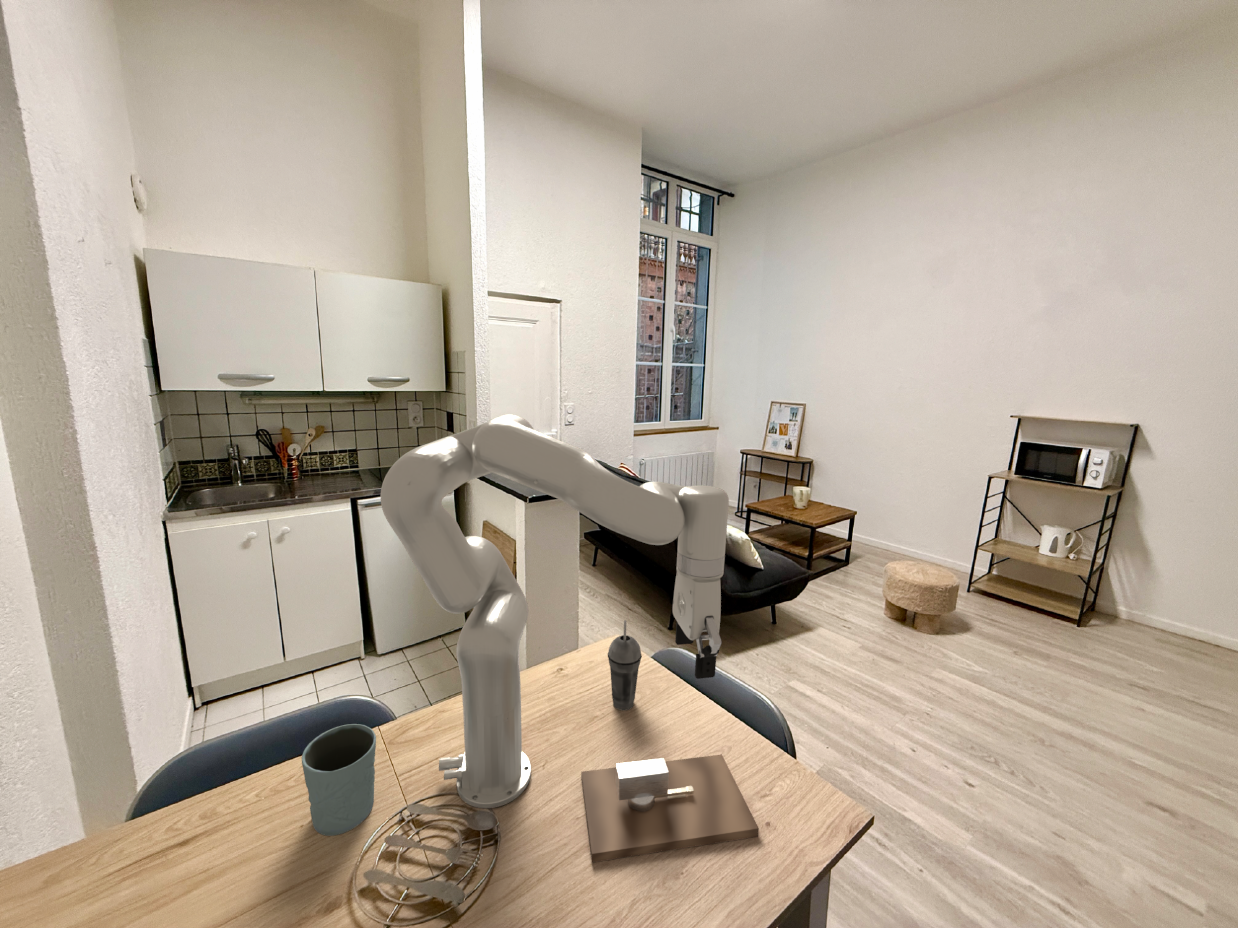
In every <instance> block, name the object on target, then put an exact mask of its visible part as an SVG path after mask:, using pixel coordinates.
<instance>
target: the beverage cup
mask: <svg viewBox="0 0 1238 928" xmlns="http://www.w3.org/2000/svg"><path fill="white" fill-rule="evenodd" d="M642 656H643V655H642V650H641V646H640V644H639V642H638V641H637V640H636V639H635V638H634V637H633V636H630V635H627V620H623V634H622V635H619V636H617V637H615V638H614V639H613V640H612V641H611V643H610V645H609V648H608V652H607V658H608V664H609V668H610V683H611V698H612V705H613V707H614V708H615V710H619V711H629V710H630V709H632V708H633V707H634V702H635V698H636V692H637V684H638V682H637V681H638V675H639V667H640V663H641V659H642Z"/></svg>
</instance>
